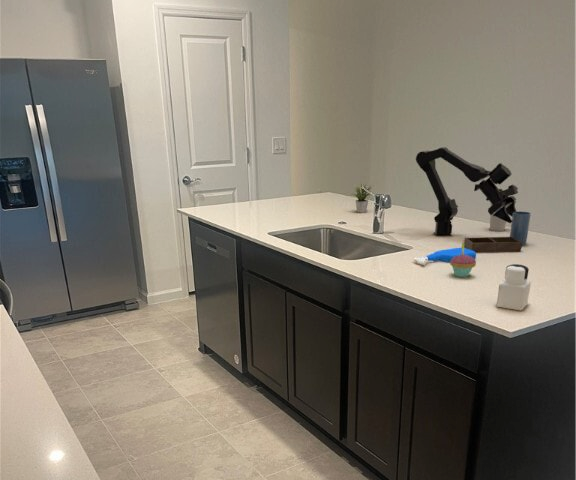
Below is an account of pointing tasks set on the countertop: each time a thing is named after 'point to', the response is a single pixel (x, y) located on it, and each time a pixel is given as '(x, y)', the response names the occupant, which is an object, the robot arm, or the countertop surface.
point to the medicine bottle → (514, 288)
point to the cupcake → (462, 264)
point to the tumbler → (520, 226)
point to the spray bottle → (444, 255)
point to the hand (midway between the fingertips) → (514, 220)
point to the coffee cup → (497, 223)
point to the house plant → (361, 199)
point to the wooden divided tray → (493, 244)
